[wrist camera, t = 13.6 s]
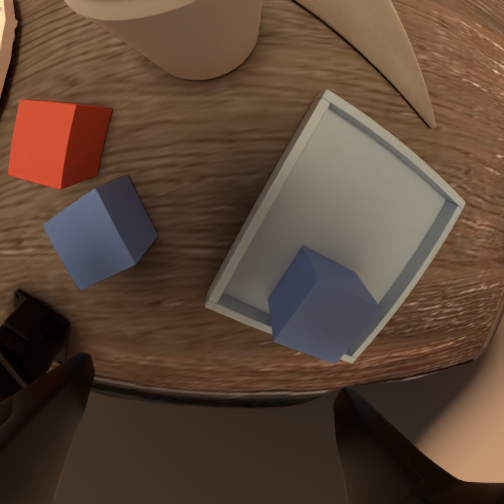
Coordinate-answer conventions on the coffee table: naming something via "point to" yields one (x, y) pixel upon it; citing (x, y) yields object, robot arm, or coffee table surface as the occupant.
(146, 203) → the coffee table surface
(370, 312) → the blue block
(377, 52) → the beige doorstop wedge
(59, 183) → the red block
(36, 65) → the coffee table surface
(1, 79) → the giant coin
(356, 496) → the robot arm
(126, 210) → the blue block
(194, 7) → the beverage can
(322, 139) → the tray
